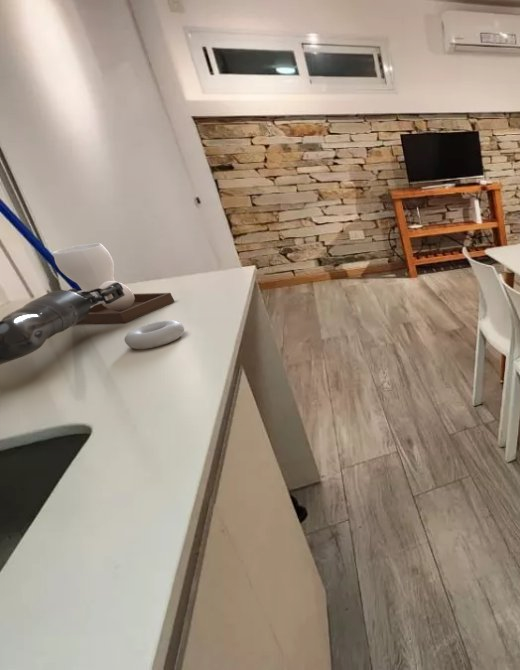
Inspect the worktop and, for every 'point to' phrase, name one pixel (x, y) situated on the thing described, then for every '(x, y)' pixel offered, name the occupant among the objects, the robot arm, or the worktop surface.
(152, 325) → the donut
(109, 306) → the egg
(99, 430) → the worktop surface
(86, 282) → the cup
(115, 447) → the worktop surface
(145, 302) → the tray
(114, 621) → the worktop surface
